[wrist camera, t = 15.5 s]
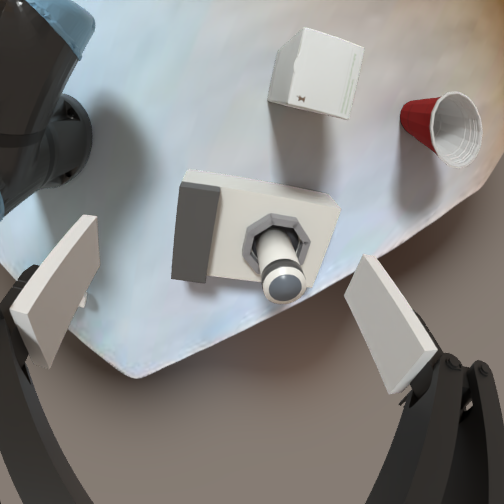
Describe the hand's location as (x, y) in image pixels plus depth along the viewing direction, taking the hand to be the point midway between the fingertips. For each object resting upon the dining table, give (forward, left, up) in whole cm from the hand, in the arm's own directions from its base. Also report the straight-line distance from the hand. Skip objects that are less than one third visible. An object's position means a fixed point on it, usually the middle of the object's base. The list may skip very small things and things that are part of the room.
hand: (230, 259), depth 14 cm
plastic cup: (+28, +12, -31) cm, 43 cm away
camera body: (+6, -12, -31) cm, 34 cm away
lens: (+9, -12, -25) cm, 29 cm away
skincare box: (+7, +11, -31) cm, 34 cm away
